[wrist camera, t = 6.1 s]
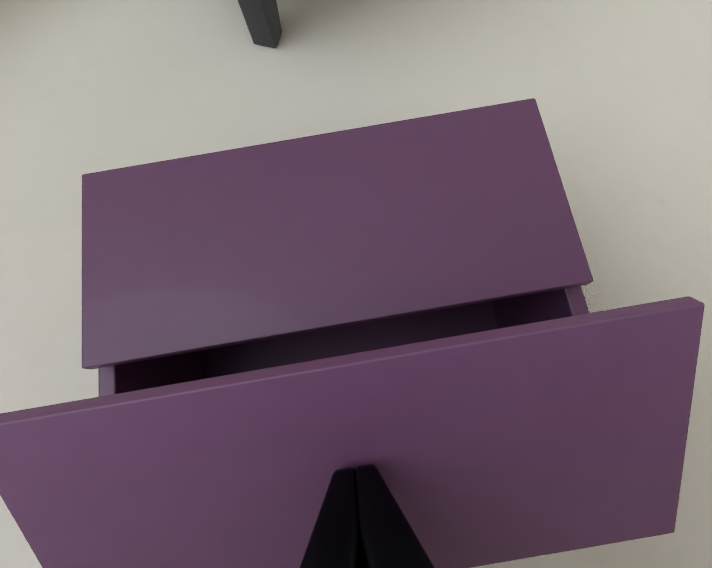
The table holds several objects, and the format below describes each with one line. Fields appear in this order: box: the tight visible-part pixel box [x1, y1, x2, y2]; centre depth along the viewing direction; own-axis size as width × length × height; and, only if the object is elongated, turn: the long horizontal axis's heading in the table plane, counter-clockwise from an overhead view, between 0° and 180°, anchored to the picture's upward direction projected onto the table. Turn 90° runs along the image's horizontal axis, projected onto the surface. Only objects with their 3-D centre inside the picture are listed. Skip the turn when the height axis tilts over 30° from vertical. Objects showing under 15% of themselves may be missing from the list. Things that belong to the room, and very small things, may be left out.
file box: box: [82, 98, 593, 397], centre depth 16 cm, size 12×14×8 cm
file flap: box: [0, 297, 704, 568], centre depth 9 cm, size 6×14×1 cm
